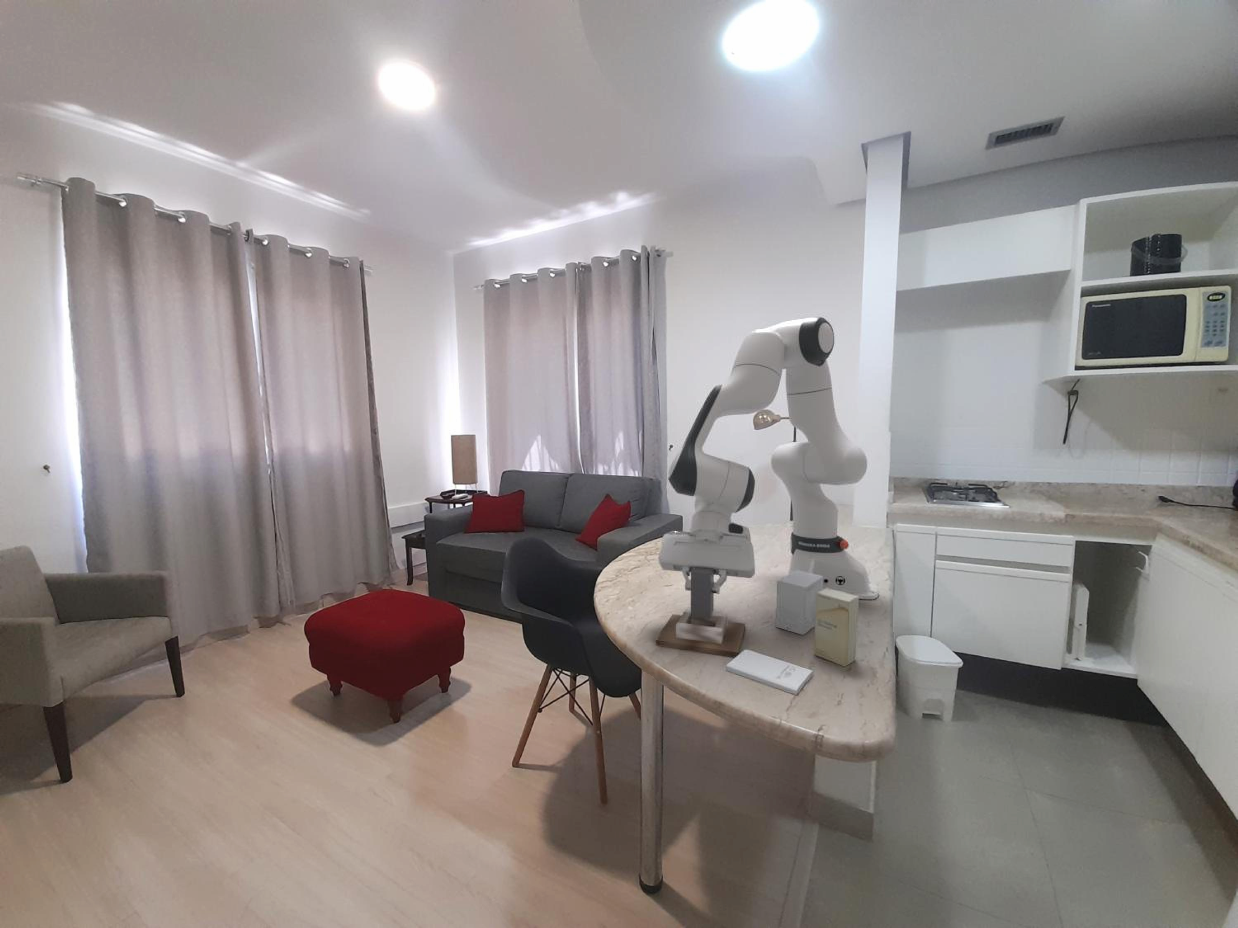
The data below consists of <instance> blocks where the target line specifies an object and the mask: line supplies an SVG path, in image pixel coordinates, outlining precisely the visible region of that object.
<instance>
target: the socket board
mask: <svg viewBox="0 0 1238 928" xmlns="http://www.w3.org/2000/svg"><path fill="white" fill-rule="evenodd" d="M745 631H746V623H743V622H737V621H729V620H728V614H727V613H718V612H713V613H712V616H711V618H707V617H699V616H691V609H688V608H687V609H686V608H685V609H684V610H683V613H682V614H674V613H673V614H671V615H670V617H669V619H668V620H667V622H666V623H665V625H664V626H663V628H662V630H661V631H660V633H659V634H658V636H657V638H656V639H655V645H656V646H660V647H666V648H673V649H680V650H685V651H691V652H692V651H693V652H700V653H706V654H712V655H713V654H714V655H719V656H724V657H730V658H731V657H732V658H733V657H734V658H736V657H737V656H738V655H739V654H740V653H741V649H742V644H743V639H744V635H745Z"/></svg>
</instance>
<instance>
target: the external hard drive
mask: <svg viewBox="0 0 1238 928" xmlns="http://www.w3.org/2000/svg"><path fill="white" fill-rule="evenodd" d="M725 671H727V672H729V673H733V674H736V675H739V676H742V677H745V678H747V679H750V680H753V681H756V682H758V683H762V684H764V685H767V686H769V687H773V688H775V689H779V690H781V691H784V692H786V693H790V694H792V695H798V694H799V693H800V691H801V690H802V689H803V688H804V685H805V684H806V683H808V681H809V680H810V679H811V678H812V677H813V675H814V671H813V670H812V669H809V668H805V667H802V666H799V665H796V664H793V663H790V662H787V661H784V660H780V659H778V658H775V657H771V656H768V655H766V654H762V653H759V652H756V651H753V650H750V649H744V650H743V651H741V652H740V653H739V655H738V656H737V657H734V658H733V659H731V661H729V662H728V663H727V664H726V666H725Z"/></svg>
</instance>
